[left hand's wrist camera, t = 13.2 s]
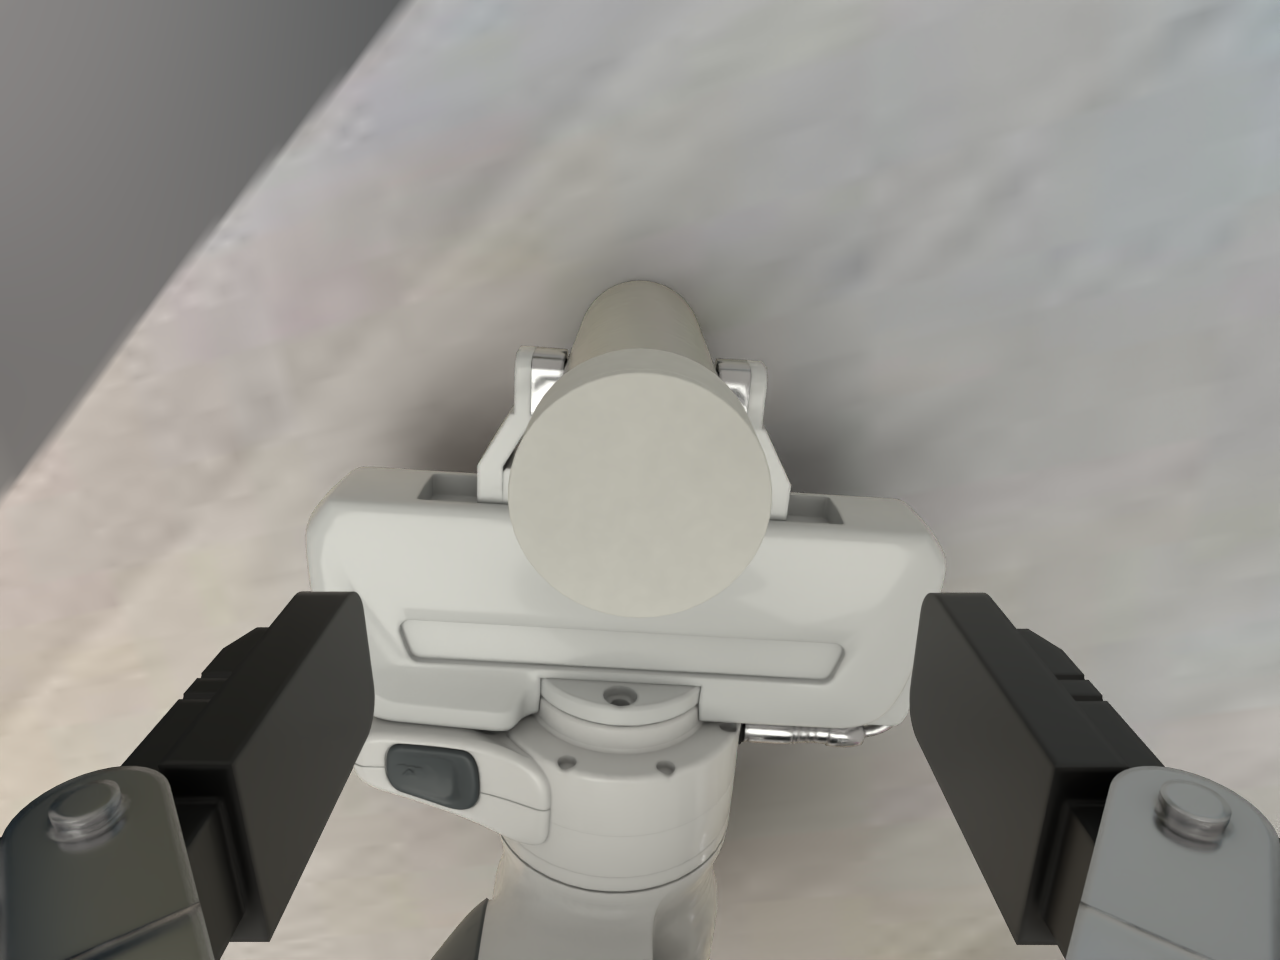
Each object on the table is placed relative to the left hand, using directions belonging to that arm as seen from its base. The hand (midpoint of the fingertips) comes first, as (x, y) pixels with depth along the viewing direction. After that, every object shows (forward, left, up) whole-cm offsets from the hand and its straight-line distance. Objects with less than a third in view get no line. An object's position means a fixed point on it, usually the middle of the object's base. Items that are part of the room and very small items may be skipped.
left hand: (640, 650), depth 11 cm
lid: (0, 0, -6) cm, 6 cm away
